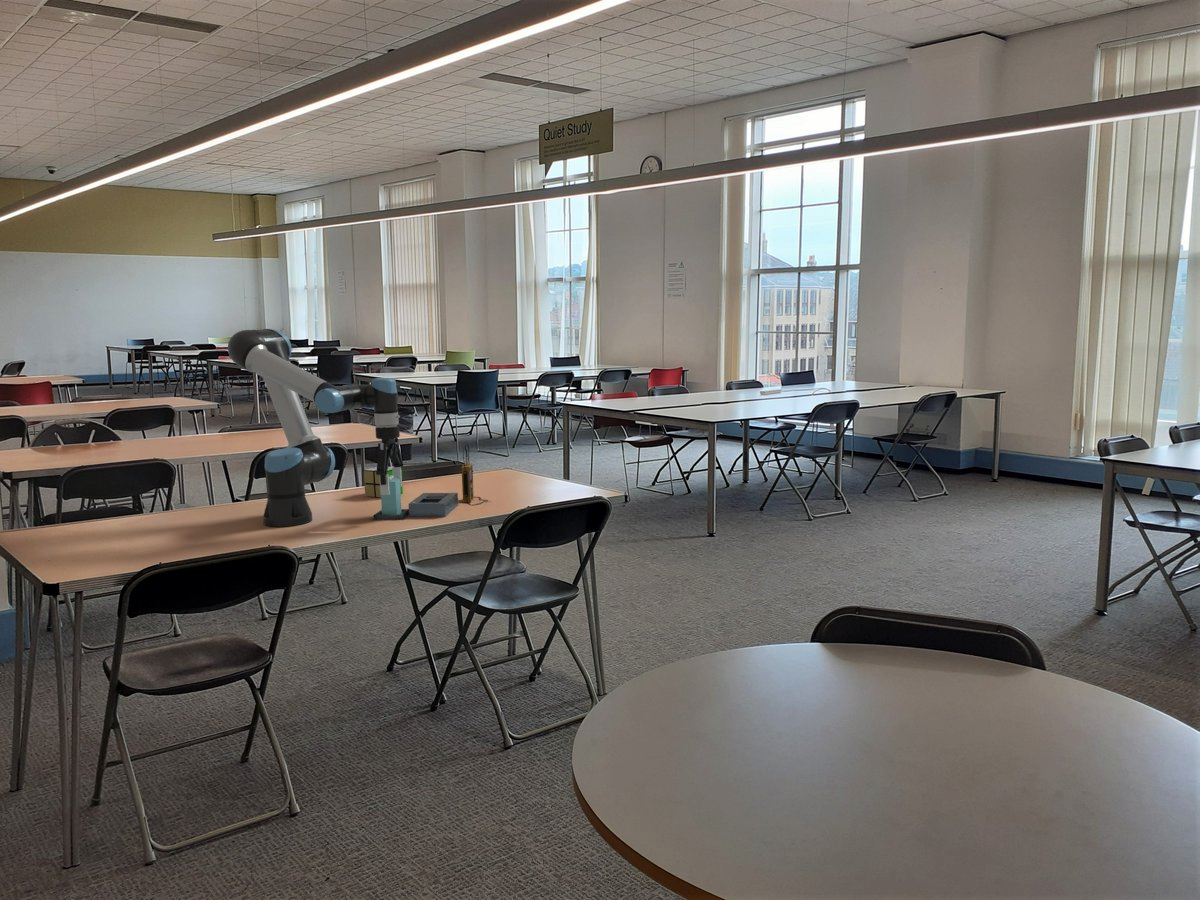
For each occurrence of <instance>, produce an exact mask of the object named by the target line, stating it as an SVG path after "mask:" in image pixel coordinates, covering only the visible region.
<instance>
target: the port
mask: <svg viewBox="0 0 1200 900" xmlns="http://www.w3.org/2000/svg"><path fill="white" fill-rule="evenodd" d="M458 495H459V494H458V492H423V493H421V494H420V495H419V496H417V497H415V498H414V499H413V500H411V501H410V502H409V503H408V509H409V516H408V517H409V518H446V517H447V516H449V514H451V512H453V511H454V510H455V509H456V508H457V507H458V506H459V496H458Z"/></svg>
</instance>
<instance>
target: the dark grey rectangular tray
mask: <svg viewBox="0 0 1200 900" xmlns="http://www.w3.org/2000/svg"><path fill="white" fill-rule="evenodd" d="M401 509H402V513H400V514H386V515H382V509H380V510H379V511H377V512H376V513H374V514H373V515H372V518H371V519H370V521H404V520H406V519H407V518H408V517H409V508H401Z"/></svg>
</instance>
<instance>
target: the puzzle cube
mask: <svg viewBox="0 0 1200 900" xmlns="http://www.w3.org/2000/svg"><path fill="white" fill-rule="evenodd" d="M392 468H393V466H388V471H387V474H388V477H389V476H393V473H392ZM376 471H377V466H376V467H371V468H368V469H363V482H364V485H363V486H364V496H365V497H367V498H368V497H369V498H378V499H381V493H380V478H379V475H376ZM402 472H403V470H402V467H401V478H402V479H403V473H402ZM403 489H404V485H403V484H402V487H400V491H401V495H402V494H403V493H404V490H403Z"/></svg>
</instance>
